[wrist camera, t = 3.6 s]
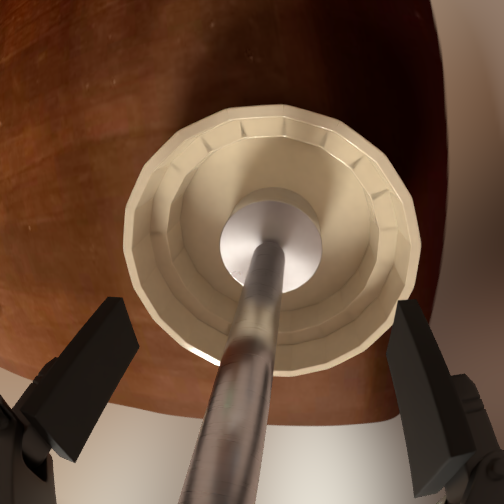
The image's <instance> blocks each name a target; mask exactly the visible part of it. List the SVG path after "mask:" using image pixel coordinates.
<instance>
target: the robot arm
mask: <svg viewBox="0 0 504 504" xmlns="http://www.w3.org/2000/svg"><path fill="white" fill-rule="evenodd" d="M138 349H139V344H138V342H137V339H136V336H135V333H134V330H133V328H132V325H131V322H130V319H129V316H128V313H127V310H126V307H125V304H124V301H123V298H120V297H107V299H106V300H105V301H104V302H103V303H102V304H101V306H100V307H99V308H98V309H97V310H96V311H95V313H94V314H93V315H92V316H91V317H90V319H89V320H88V321H87V322H86V323H85V325H84V326H83V327H82V328H81V330H80V331H79V332H78V333H77V334H76V336H75V337H74V338H73V339H72V341H71V342H70V343H69V344H68V346H67V347H66V348H65V349H64V351H63V352H62V353H61V354H60V356H59V357H58V358H57V357H55V358H54V359H52V360H51V361H50V362H48V363H47V364H45V366H44V367H43V368H42V370H41V371H40V372H39V373H38V376H36V377H35V379H34V380H33V383H31V384H30V385H29V387H28V388H27V389H26V391H25V392H24V393H23V395H22V396H21V398H20V399H19V400H18V402H17V403H16V404H15V406H14V407H13V408H12V409H11V408H10V407H9V406H8V404H7V403H6V402H5V400H4V399H3V398H2V396H1V395H0V504H56V495H55V485H54V473H53V460H52V457H51V455H50V454H49V451H50V450H51V448H52V449H53V450H54V451H55V452H56V453H57V454H58V455H59V456H60V457H62V458H64V459H67V460H69V461H71V462H74V463H75V462H76V460H77V458H78V457H79V454H80V453H81V451H82V449H83V447H84V445H85V443H86V441H87V439H88V438H89V436H90V434H91V432H92V430H93V428H94V426H95V425H96V423H97V421H98V419H99V417H100V415H101V414H102V412H103V410H104V408H105V406H106V405H107V403H108V401H109V399H110V397H111V396H112V394H113V392H114V390H115V389H116V387H117V385H118V383H119V382H120V380H121V378H122V376H123V375H124V373H125V371H126V369H127V368H128V366H129V364H130V362H131V361H132V359H133V357H134V356H135V354H136V352H137V350H138ZM386 356H387V360H388V364H389V368H390V372H391V376H392V380H393V384H394V388H395V393H396V397H397V401H398V406H399V411H400V415H401V420H402V425H403V430H404V435H405V440H406V446H407V452H408V457H409V463H410V469H411V476H412V483H413V491H414V498H417V497H422V496H427V495H431V494H436V493H438V491H440V490H441V489H442V488H443V487H444V486H445V491H446V495H445V496H444V497H443V498H442V499H441V500H440V501H438V502H437V503H436V504H504V450H501V449H500V447H499V445H498V442H497V439H496V437H495V434H494V431H493V428H492V425H491V423H490V420H489V417H488V415H487V412H486V410H485V409H484V405H483V402H482V400H481V399H480V395H479V393H478V390H477V388H476V386H475V384H474V383H473V382H472V381H471V380H470V379H469V377H468V376H467V375H466V374H460V375H453V376H451V375H450V373H449V370H448V368H447V365H446V363H445V361H444V358H443V356H442V354H441V351H440V350H439V347H438V344H437V342H436V340H435V338H434V336H433V333H432V331H431V329H430V327H429V325H428V323H427V320H426V318H425V316H424V314H423V312H422V310H421V308H420V306H419V304H418V302H417V300H416V299H414V300H398V302H397V307H396V312H395V317H394V322H393V327H392V331H391V336H390V340H389V344H388V348H387V352H386Z"/></svg>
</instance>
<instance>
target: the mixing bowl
mask: <svg viewBox="0 0 504 504" xmlns="http://www.w3.org/2000/svg"><path fill="white" fill-rule="evenodd" d="M267 187H279V188H285V189H288V190H291V191H293V192H295V193H297V194H299V195H300V196H302V197H303V198H304V199H305V200H307V202H308V203H309V204H310V205H311V206H312V208H313V209H314V211H315V213H316V215H317V218H318V221H319V226H320V232H321V238H322V248H323V251H322V258H321V262H320V264H319V267H318V269H317V270H316V272H315V274H314V275H313V276H312V277H311V278H310V279H309V280H308V281H307V282H306V283H305V284H304V285H302V286H300V287H299V288H297V289H295V290H292V291H289V292H286V293H282V299H281V309H280V318H279V328H278V337H277V346H276V354H275V363H274V371H273V376H284V377H292V376H298V375H302V374H307V373H312V372H316V371H321V370H325V369H329V368H332V367H334V366H336V365H338V364H340V363H342V362H344V361H346V360H348V359H350V358H352V357H354V356H355V355H357V354H359V353H361V352H363V351H365V350H366V349H367V348H368V347H369V346H370V345H372V344H373V343H374V342H375V341H376V340H377V339H378V338H379V337H380V336H381V335H382V334H383V333H384V332H385V331H386V330H388V329H389V328H390V327H391V326H392V325H393V322H394V317H395V312H396V307H397V302H398V300H407V299H408V297H409V296H410V294H411V292H412V290H413V288H414V285H415V280H416V274H417V269H418V263H419V256H420V250H421V240H420V234H419V228H418V223H417V218H416V213H415V208H414V203H413V199H412V196H411V195H410V193H409V191H408V190H407V188H406V186H405V185H404V183H403V181H402V180H401V178H400V177H399V175H398V173H397V172H396V170H395V169H394V167H393V165H392V164H391V162H390V161H389V159H388V158H387V156H386V155H385V154H384V153H383V152H382V151H381V150H379V149H378V148H377V147H375V146H374V145H373V144H372V143H370V142H369V141H368V140H366V139H365V138H364V137H362V136H361V135H360V134H358V133H357V132H356V131H354V130H353V129H352V128H350V127H349V126H348V125H346V124H345V123H343V122H342V121H340V120H338V119H335V118H332V117H328V116H325V115H322V114H319V113H315V112H312V111H309V110H305V109H302V108H298V107H294V106H291V105H287V104H285V105H284V104H271V105H255V106H242V107H231V108H227V109H223V110H221V111H219V112H216V113H214V114H212V115H210V116H208V117H205V118H203V119H201V120H199V121H197V122H195V123H192V124H190V125H188V126H186V127H184V128H182V129H180V130H179V131H177V132H176V133H175V134H174V135H173V136H172V137H171V138H170V139H169V140H168V141H167V142H166V143H165V144H164V145H163V146H162V147H161V148H160V149H159V150H158V151H157V152H156V153H155V154H154V155H153V156H152V157H151V158H150V159H149V160H148V161H147V162H146V164H145V165H144V166H143V168H142V170H141V173H140V175H139V177H138V179H137V182H136V184H135V186H134V188H133V191H132V193H131V195H130V198H129V200H128V202H127V205H126V209H125V222H124V239H123V251H124V255H125V259H126V262H127V266H128V270H129V274H130V277H131V281H132V284H133V287H134V289H135V291H136V292H137V294H138V296H139V297H140V299H141V301H142V302H143V304H144V306H145V307H146V309H147V310H148V312H149V314H150V315H151V317H152V318H153V320H154V321H155V322H156V323H157V324H158V325H159V326H160V327H162V328H163V329H164V330H165V331H166V332H167V333H168V334H169V335H170V336H171V337H172V338H173V339H174V340H176V341H177V342H178V343H179V344H180V345H181V346H183V347H184V348H185V349H187V350H189V351H191V352H193V353H194V354H196V355H198V356H200V357H202V358H203V359H205V360H207V361H209V362H211V363H213V364H215V365H217V366H220V362H221V359H222V356H223V352H224V349H225V346H226V342H227V339H228V336H229V332H230V329H231V326H232V322H233V319H234V316H235V312H236V309H237V306H238V302H239V299H240V296H241V292H242V289H243V285H241V284H240V283H239V282H237V281H236V280H235V279H234V278H233V277H232V276H231V275H230V273H229V272H228V271H227V269H226V267H225V266H224V264H223V261H222V258H221V254H220V247H219V243H220V236H221V232H222V229H223V227H224V225H225V223H226V222H227V220H228V218H229V217H230V215H231V213H232V212H233V210H234V208H235V206H236V205H237V204H238V203H239V201H240V200H241V199H242V198H244V197H245V196H246V195H248V194H249V193H251V192H253V191H255V190H258V189H262V188H267Z"/></svg>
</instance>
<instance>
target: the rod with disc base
mask: <svg viewBox="0 0 504 504" xmlns="http://www.w3.org/2000/svg"><path fill="white" fill-rule="evenodd" d="M219 247H220V254H221V258H222V261H223V264H224V266H225V267H226V269H227V271H228V272H229V273H230V275H231V276H232V277H233V278H234V279H235V280H236V281H237V282H239V283H240V284H241V285H243V289H242V292H241V296H240V299H239V302H238V306H237V309H236V312H235V316H234V319H233V322H232V326H231V329H230V332H229V336H228V339H227V342H226V346H225V349H224V352H223V356H222V359H221V362H220V366H219V369H218V372H217V376H216V379H215V382H214V386H213V389H212V392H211V396H210V399H209V402H208V406H207V409H206V412H205V416H204V419H203V422H202V426H201V429H200V432H199V435H198V439H197V442H196V445H195V449H194V453H193V456H192V459H191V462H190V465H189V469H188V472H187V475H186V479H185V482H184V486H183V488H182V492H181V495H180V498H179V502H178V504H255V501H256V493H257V488H258V482H259V475H260V468H261V462H262V454H263V448H264V441H265V433H266V426H267V419H268V411H269V403H270V396H271V388H272V380H273V371H274V363H275V354H276V346H277V337H278V328H279V318H280V309H281V299H282V293H286V292H289V291H292V290H295V289H297V288H299V287H300V286H302V285H304V284H305V283H306V282H307V281H308V280H309V279H310V278H311V277H312V276H313V275H314V274H315V272H316V270H317V269H318V267H319V264H320V262H321V258H322V251H323V248H322V238H321V232H320V226H319V221H318V218H317V215H316V213H315V211H314V209H313V208H312V206H311V205H310V204H309V203H308V202H307V200H305V199H304V198H303V197H302V196H300V195H299V194H297V193H295V192H293V191H291V190H288V189H285V188H279V187H267V188H262V189H258V190H255V191H253V192H251V193H249V194H248V195H246V196H245V197H244V198H242V199H241V200H240V201H239V203H238V204H237V205H236V206H235V208H234V210H233V212H232V213H231V215H230V217H229V218H228V220H227V222H226V223H225V225H224V227H223V229H222V232H221V236H220V243H219Z"/></svg>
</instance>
